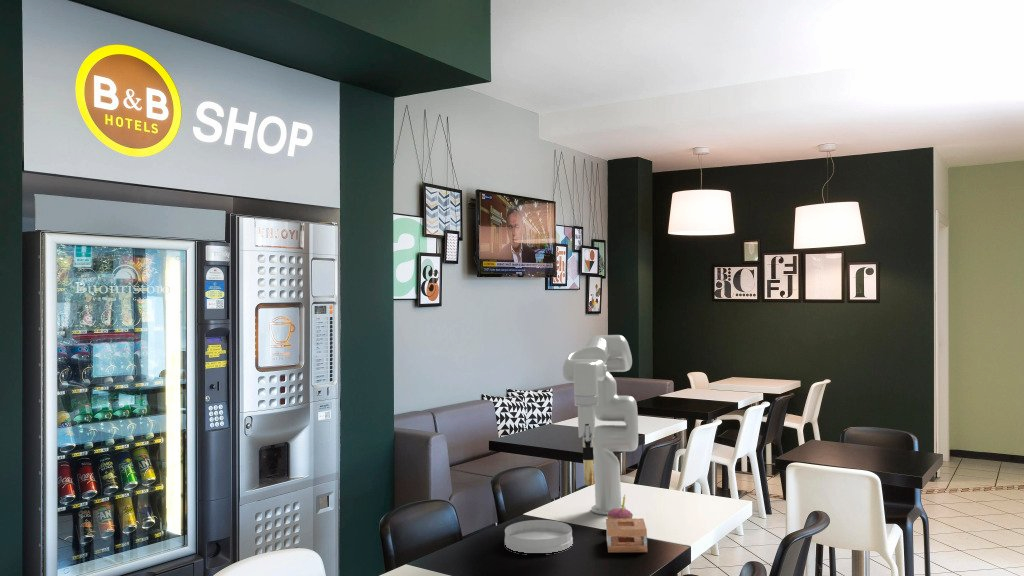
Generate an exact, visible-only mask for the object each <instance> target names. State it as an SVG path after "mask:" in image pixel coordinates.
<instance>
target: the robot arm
mask: <svg viewBox="0 0 1024 576" xmlns="http://www.w3.org/2000/svg"><path fill="white" fill-rule="evenodd" d="M632 365H633V358H632V352H631V349H630V346H629V342H628V341H627V339H626V338H625V337H624V336H623V335H621V334H605V335H604V334H602V335H601V334H599V335H594V336H592V337H591V338H589V340H588V342H587V344H586V346H585V347H584V348H582V349H581V348H580V349H578V350H576V351H574V352H573V351H572V352H571V353H569V354H568V355H567V357H566V358H565V360H564V362H563V366H562V376H563V377H564V380H565V381H566V382H568V383H573V394H574V396H573V397H574V407H577V427H578V438H580V439H581V438H582V437H583V439H582V445H583V444H584V447H583V446H582V456H583V457H582V460H593V462H594V499H595V500H594V502H595V503H594V505H592V506H591V512H592V513H594V514H597V515H604V516H605V515H606V516H607V515H608V513H609V511H611V510H612V509H617V508H622V491H621V488H622V487H621V486H622V485H621V484H622V483H621V464H620V460H619V459H618V457H617V456H616V455H615V453H614V452H634V451H637V449H638V447H639V417H638V416H639V414H638V405H637V404H638V403H637V401H636V399H635V398H634V397H633V396H631V395H619V394H618V393H617V390H618V389H617V387H618V386H617V381H616V379H615V378H614V377H613V375H612V374H611V372H612V373H614V372H615V373H616V372H617V373H620V372H621V373H623V372H627V371H630V369H631V368H632ZM596 420H598V421H599V422H600V421H601V422H623V423H624V424H625V425H624V424H621V425H620V424H601V425H596ZM589 428H590V430H589ZM590 432H591V433H590ZM584 435H586V437H584ZM590 435H591V437H589V436H590ZM592 438H593V447H592ZM585 439H586V440H585ZM590 443H591V445H590ZM590 446H591V447H590ZM626 508H627V507H626V506H625V505H624V509H626Z"/></svg>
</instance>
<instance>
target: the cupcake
mask: <svg viewBox="0 0 1024 576" xmlns="http://www.w3.org/2000/svg"><path fill="white" fill-rule="evenodd" d="M622 499H623V500H622V503H621V505H622V508H617V509H612V510H611V511H609V513H608V515H606V519H633V516H634V514H633V513H632V511H630V510H628V509H624V506H625V503H626V494H624V495H623V498H622Z"/></svg>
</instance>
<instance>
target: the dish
mask: <svg viewBox="0 0 1024 576" xmlns="http://www.w3.org/2000/svg"><path fill="white" fill-rule="evenodd" d="M573 540H574V537H573V529H572V527H571V525H569V524H568V523H566V522H562V521H559V520H558V521H557V520H551V519H550V520H549V519H533V520H532V519H530V520H522V521H518V522H515V523H512V524H509V525H508V526H506V527H505V529H504V546H505V545H506V547H507V548H509V549H511V550H513V551H518V552H524V553H552V552H558V551H562V550H565V549H567V548H569V547H570V546H572V547H573V545H574V541H573ZM572 544H573V545H572ZM506 547H505V548H506ZM507 548H506V549H507ZM570 548H571V547H570ZM570 548H569V549H570ZM567 550H568V549H567ZM565 551H566V550H565ZM562 552H563V551H562ZM558 553H559V552H558Z"/></svg>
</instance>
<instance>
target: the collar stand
mask: <svg viewBox="0 0 1024 576" xmlns="http://www.w3.org/2000/svg"><path fill="white" fill-rule="evenodd" d="M605 525H606V526H605V528H606V529H605V530H606V546H607V553H648V532H647V531H648V530H647V529H648V528H647V525H646V523H645V520H644V518H632V519H608V518H606V519H605Z"/></svg>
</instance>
